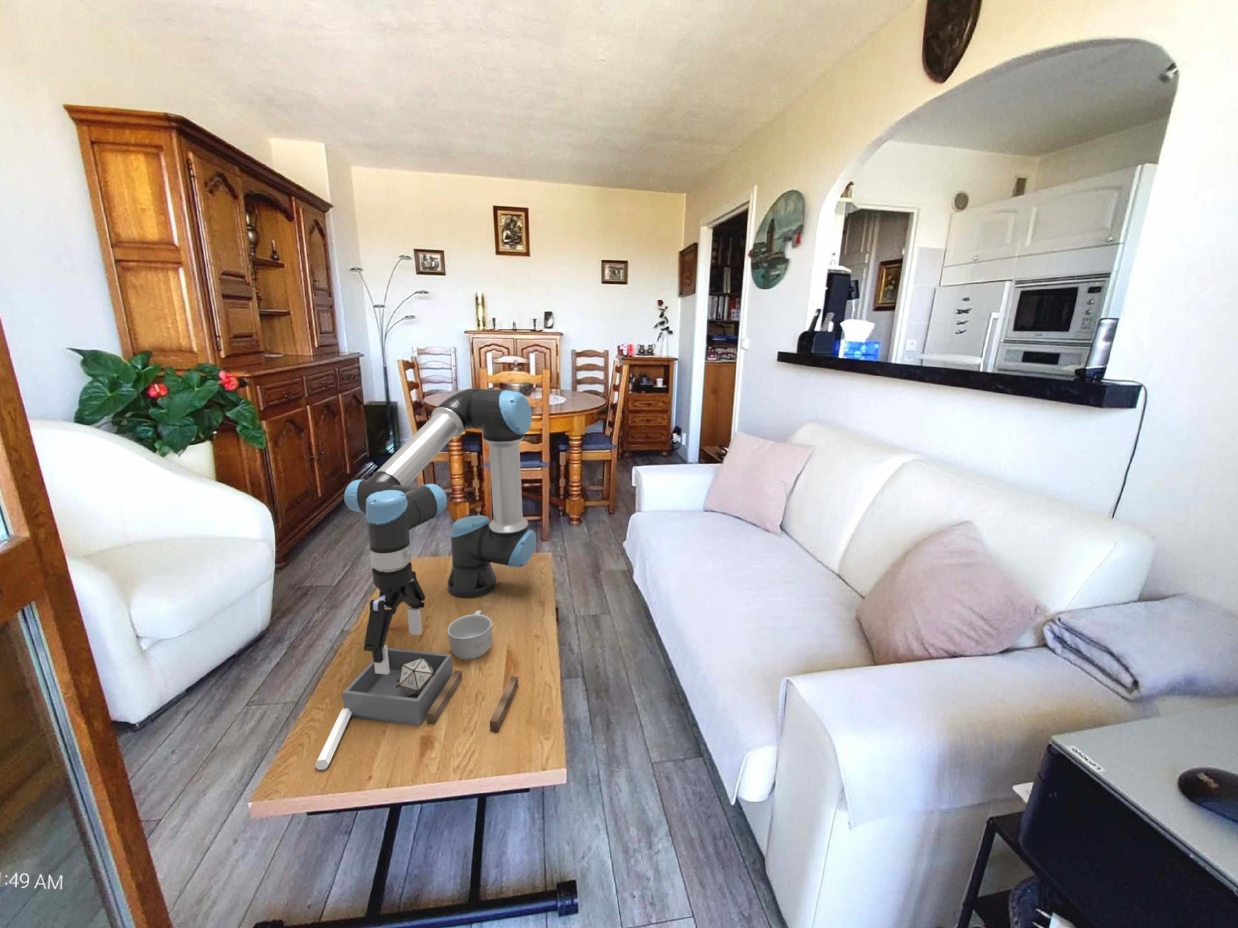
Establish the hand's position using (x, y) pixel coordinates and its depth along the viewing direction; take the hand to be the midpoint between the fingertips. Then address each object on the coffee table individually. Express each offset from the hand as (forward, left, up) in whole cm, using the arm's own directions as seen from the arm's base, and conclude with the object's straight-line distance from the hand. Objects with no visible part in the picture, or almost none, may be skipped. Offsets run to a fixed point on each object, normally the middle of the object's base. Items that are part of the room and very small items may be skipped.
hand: (400, 652), depth 107 cm
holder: (0, +17, -11) cm, 20 cm away
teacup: (-19, +9, -11) cm, 23 cm away
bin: (0, 0, -11) cm, 11 cm away
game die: (0, +1, -9) cm, 9 cm away
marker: (+13, -6, -11) cm, 18 cm away
